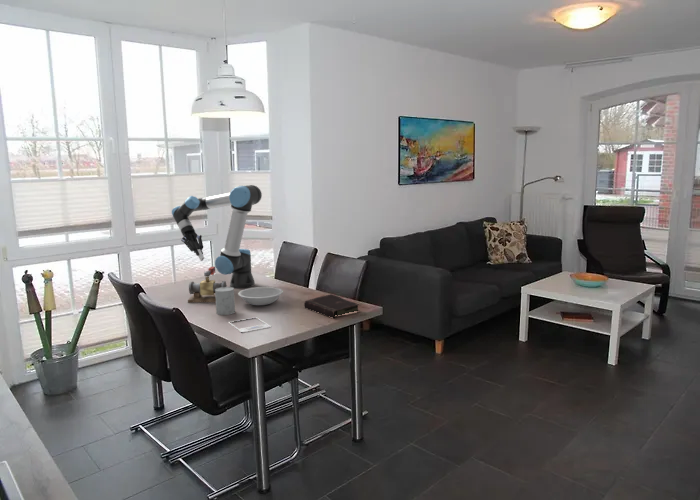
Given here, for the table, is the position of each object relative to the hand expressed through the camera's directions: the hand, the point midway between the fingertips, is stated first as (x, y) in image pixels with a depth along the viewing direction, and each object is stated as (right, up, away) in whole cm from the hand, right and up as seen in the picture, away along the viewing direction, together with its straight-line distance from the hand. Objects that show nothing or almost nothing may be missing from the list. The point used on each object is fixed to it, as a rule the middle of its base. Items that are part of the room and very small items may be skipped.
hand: (202, 259), depth 303 cm
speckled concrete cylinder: (+23, -27, -37) cm, 51 cm away
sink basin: (+38, -24, -22) cm, 50 cm away
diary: (+78, -26, -35) cm, 89 cm away
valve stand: (+7, -23, -13) cm, 27 cm away
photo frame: (+39, -31, -58) cm, 77 cm away
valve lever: (+7, -9, -9) cm, 14 cm away
